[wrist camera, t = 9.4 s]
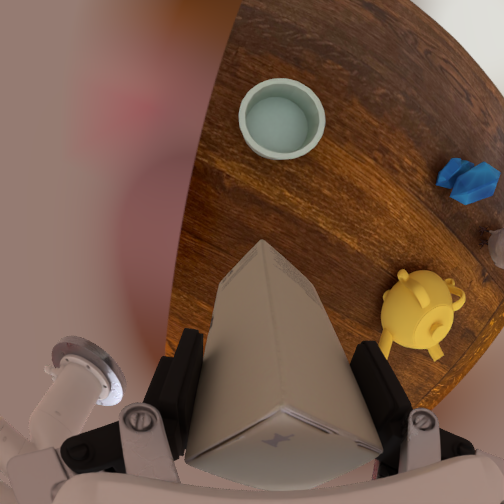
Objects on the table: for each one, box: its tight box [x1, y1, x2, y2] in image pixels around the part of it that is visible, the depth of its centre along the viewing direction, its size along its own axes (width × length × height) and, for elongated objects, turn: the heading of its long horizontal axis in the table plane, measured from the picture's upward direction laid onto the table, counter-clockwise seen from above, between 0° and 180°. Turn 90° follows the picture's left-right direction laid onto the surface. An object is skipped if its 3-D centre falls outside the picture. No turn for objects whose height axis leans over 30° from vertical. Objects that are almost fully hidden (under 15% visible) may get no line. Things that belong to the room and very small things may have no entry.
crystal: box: [436, 158, 500, 205], centre depth 30 cm, size 7×9×12 cm
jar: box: [239, 78, 325, 160], centre depth 29 cm, size 9×9×8 cm
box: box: [184, 240, 383, 491], centre depth 12 cm, size 5×4×13 cm
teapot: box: [378, 269, 465, 361], centre depth 36 cm, size 14×14×11 cm
